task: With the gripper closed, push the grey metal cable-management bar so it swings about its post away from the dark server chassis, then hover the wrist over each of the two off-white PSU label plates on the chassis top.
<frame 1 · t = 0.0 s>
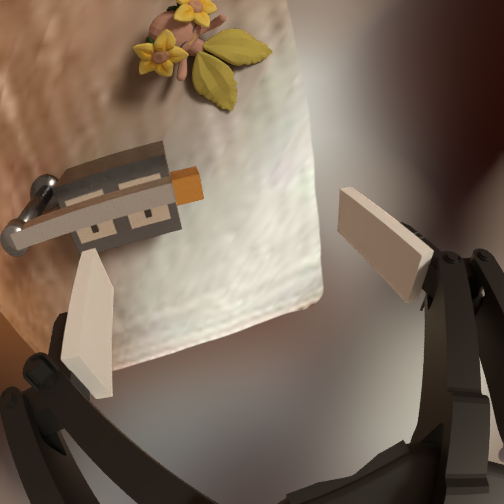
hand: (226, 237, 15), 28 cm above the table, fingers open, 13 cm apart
server chassis: (121, 187, 39), on the table
figurine: (202, 52, 32), on the table
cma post: (47, 191, 35), on the table
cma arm: (90, 212, 27), point 13 cm above the table, hinge at 0.0°
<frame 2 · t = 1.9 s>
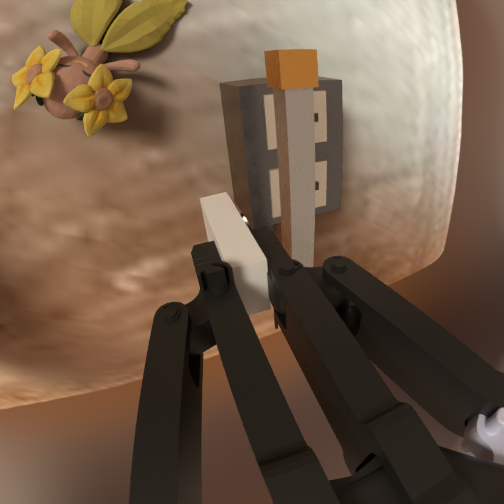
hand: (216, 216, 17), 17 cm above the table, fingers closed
server chassis: (270, 137, 33), on the table
figurine: (103, 43, 22), on the table
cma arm: (297, 201, 23), point 13 cm above the table, hinge at 0.0°
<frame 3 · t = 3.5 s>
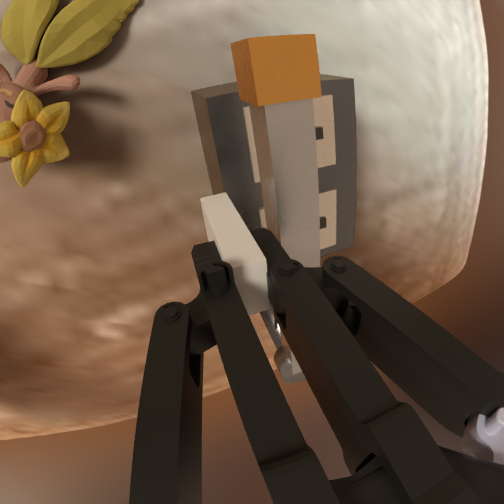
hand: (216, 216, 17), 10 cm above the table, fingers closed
server chassis: (262, 156, 26), on the table
figurine: (43, 58, 15), on the table
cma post: (248, 262, 32), on the table
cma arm: (295, 264, 16), point 13 cm above the table, hinge at -0.1°, touching gripper
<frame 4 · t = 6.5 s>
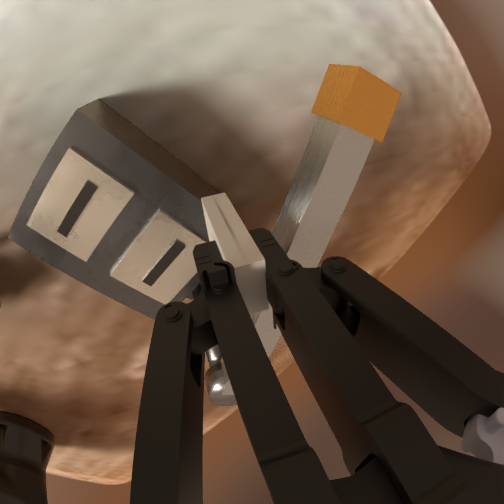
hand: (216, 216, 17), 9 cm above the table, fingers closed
server chassis: (127, 194, 24), on the table
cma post: (200, 276, 31), on the table
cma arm: (279, 281, 17), point 13 cm above the table, hinge at -63.2°, touching gripper
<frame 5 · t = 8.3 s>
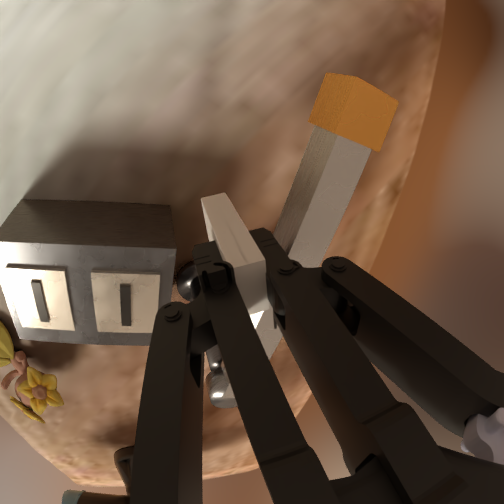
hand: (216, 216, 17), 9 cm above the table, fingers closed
server chassis: (92, 250, 26), on the table
figurine: (10, 347, 29), on the table
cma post: (200, 279, 31), on the table
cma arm: (278, 289, 17), point 13 cm above the table, hinge at -94.6°, touching gripper
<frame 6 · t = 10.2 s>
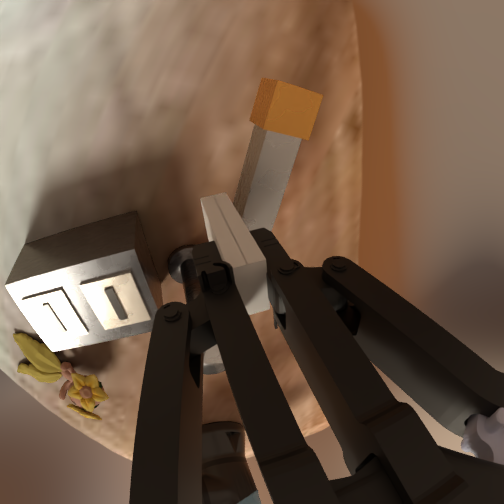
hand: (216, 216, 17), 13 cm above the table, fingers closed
server chassis: (91, 265, 31), on the table
figurine: (59, 362, 38), on the table
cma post: (189, 263, 35), on the table
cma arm: (238, 262, 20), point 13 cm above the table, hinge at -110.7°, touching gripper
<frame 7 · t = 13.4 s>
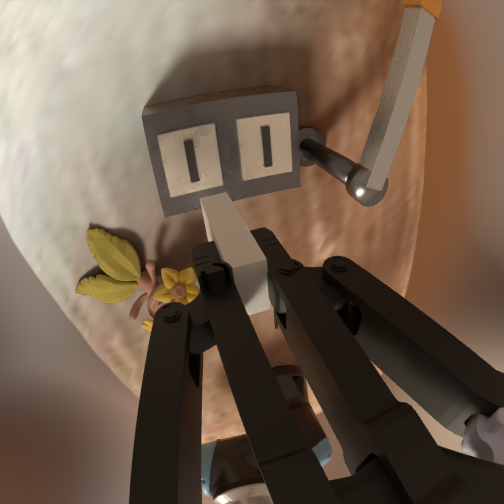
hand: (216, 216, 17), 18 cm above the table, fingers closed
server chassis: (214, 136, 32), on the table
figurine: (134, 272, 39), on the table
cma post: (304, 145, 36), on the table
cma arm: (400, 89, 21), point 13 cm above the table, hinge at -110.7°
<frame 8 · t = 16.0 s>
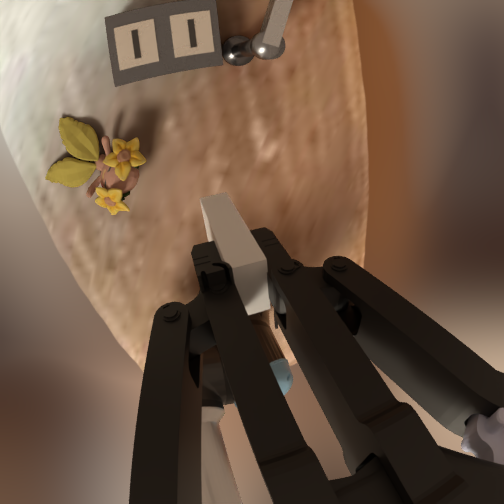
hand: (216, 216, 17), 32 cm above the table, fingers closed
server chassis: (162, 43, 35), on the table
figurine: (95, 158, 42), on the table
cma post: (237, 50, 39), on the table
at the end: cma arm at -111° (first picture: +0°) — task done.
